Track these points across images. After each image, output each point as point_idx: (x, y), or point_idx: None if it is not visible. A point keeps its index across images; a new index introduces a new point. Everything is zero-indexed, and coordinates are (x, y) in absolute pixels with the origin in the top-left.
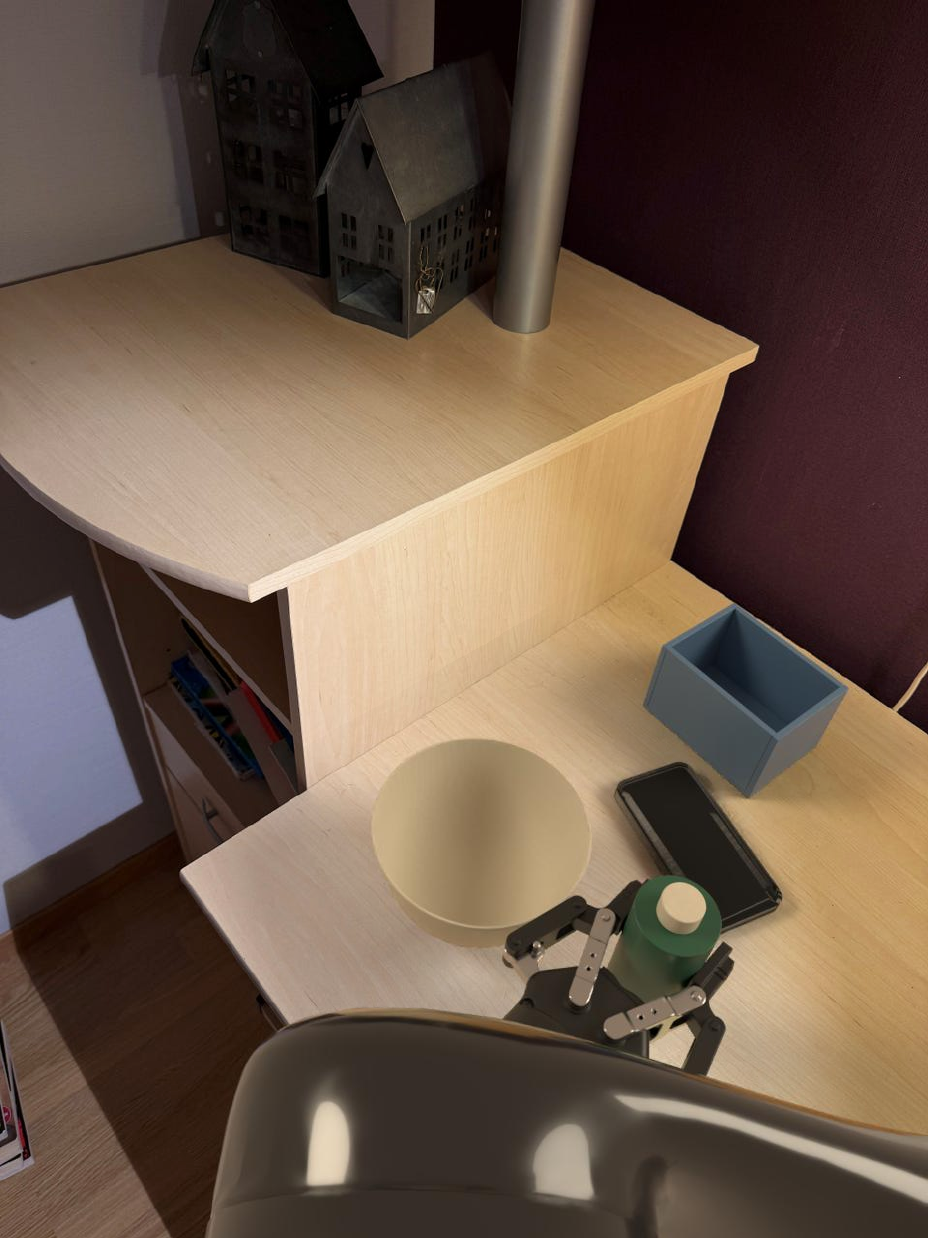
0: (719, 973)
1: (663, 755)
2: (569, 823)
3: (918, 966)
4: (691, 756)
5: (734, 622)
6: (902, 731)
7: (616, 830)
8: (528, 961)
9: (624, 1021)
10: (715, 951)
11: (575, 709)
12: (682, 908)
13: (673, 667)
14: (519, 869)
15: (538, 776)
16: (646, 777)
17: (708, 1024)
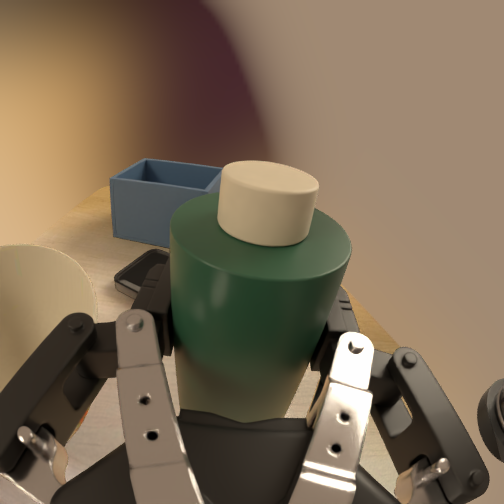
0: (341, 305)
1: (138, 254)
2: (73, 294)
3: (345, 288)
4: (156, 248)
5: (148, 169)
6: None
7: (127, 308)
8: (33, 474)
9: (321, 486)
10: None
11: (71, 253)
12: (279, 178)
13: (121, 189)
14: None
15: (33, 268)
16: (132, 266)
17: (403, 365)
